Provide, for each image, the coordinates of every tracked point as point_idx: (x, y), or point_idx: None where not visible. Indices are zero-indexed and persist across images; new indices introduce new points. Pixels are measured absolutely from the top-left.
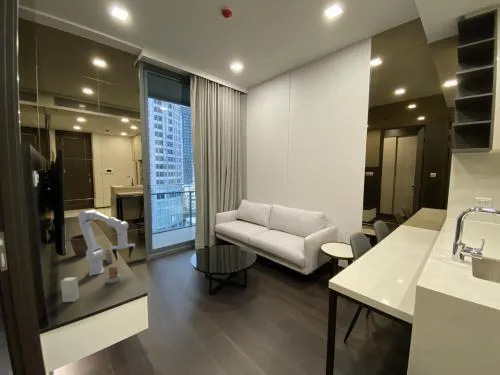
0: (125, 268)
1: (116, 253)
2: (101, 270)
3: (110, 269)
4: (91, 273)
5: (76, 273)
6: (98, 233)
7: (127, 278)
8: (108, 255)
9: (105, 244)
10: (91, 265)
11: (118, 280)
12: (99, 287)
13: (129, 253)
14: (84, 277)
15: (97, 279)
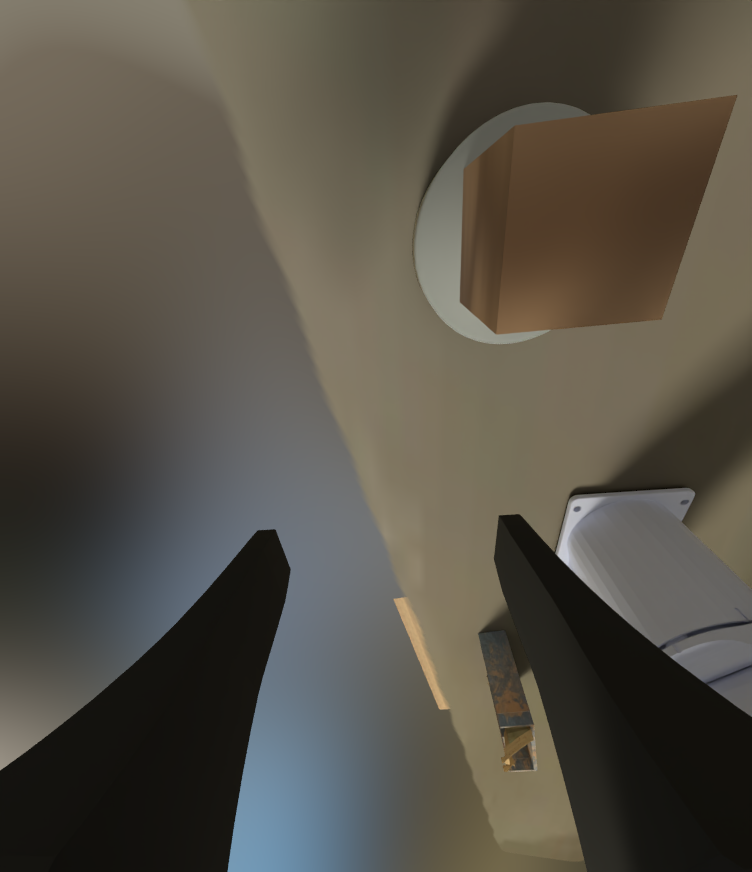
0: (377, 509)
1: (627, 708)
2: (587, 527)
3: (674, 175)
4: (671, 512)
5: (744, 569)
6: (507, 849)
7: (328, 216)
8: (524, 709)
9: (492, 793)
10: (747, 585)
11: (443, 164)
12: (721, 35)
13: (209, 629)
14: (731, 474)
15: (651, 370)
